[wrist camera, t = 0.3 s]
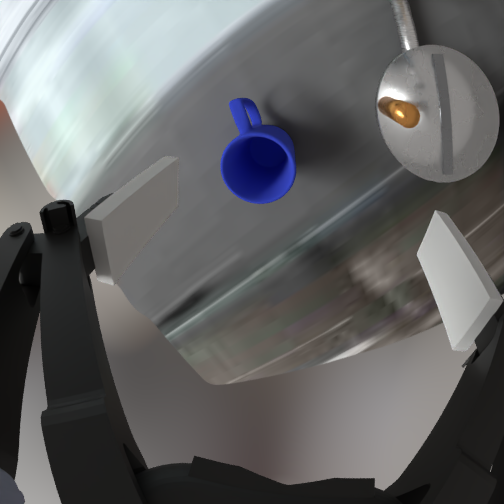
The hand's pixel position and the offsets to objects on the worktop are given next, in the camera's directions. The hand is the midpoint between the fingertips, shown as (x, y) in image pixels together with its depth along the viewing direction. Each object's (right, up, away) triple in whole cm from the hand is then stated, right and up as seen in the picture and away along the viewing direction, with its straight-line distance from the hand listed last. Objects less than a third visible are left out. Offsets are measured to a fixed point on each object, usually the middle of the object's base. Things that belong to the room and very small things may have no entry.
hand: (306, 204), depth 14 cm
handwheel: (+17, +12, +10) cm, 23 cm away
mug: (-1, +14, +25) cm, 28 cm away
